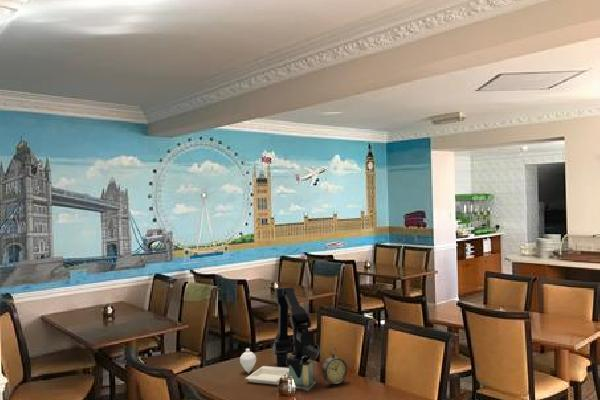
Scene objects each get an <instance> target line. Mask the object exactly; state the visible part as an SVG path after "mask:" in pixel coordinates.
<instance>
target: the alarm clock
mask: <svg viewBox="0 0 600 400" xmlns="http://www.w3.org/2000/svg"><path fill="white" fill-rule="evenodd" d="M332 349H334V350H335V352H334V353H331V351H332ZM336 353H337V349H336V347H335V346H333V347H331V348H330V349H329V354H330V355H331V356H329V357H327V358H326V359H325V360H324V362H323V364H322V367H321V375H322V377H323V379H324V380H325V381H326V382H328V383H327V386H326V388H329V386H330V384H333V385H338V384H341V383H343V384H345V383H346V382H345V381H344V380H345V379H346V377H347V375H348V366H347V363H346V362H345V360H344V359H342V358H340V357H338V356H335V354H336Z"/></svg>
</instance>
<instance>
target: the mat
mask: <svg viewBox="0 0 600 400" xmlns="http://www.w3.org/2000/svg"><path fill="white" fill-rule="evenodd" d="M316 384H317V381H316V380H315V381H314V380H313V383H312V384H311V385H310V386H309V387H306V386H297V385H296V388H295V389H299V390H301V389H302V390H303V391H307V392H308V391H309V390H311V389H312V387H314V385H316Z"/></svg>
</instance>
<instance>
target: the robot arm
mask: <svg viewBox="0 0 600 400" xmlns="http://www.w3.org/2000/svg"><path fill="white" fill-rule="evenodd" d="M273 294H274V299H275V301H276V302H277V304H278V320H277V321H278V327H277V328H278V330H277V334H276V335H275V337H274V342H273V345H272V354H274V355H275V356H276V364H274V365H273V367H281V368H287V367H289V365H291V366H292V368H293V370H294V372H295V374H296V376H297V378H300V376H301V366H302V365H303V364H304V363H302V362H303V361H304V362H307V361H308V362H309V361H310V359H312V360H316V359H317V358H318V357H319V354H320V353H321V349H320V345H319V344H316V343H315V344H314V345H312V343H313V342H314V336H313V334H312V333H311V332H310V331H309V329H311V328H312V322H311V319H310V316H309V314H308V312H307V311H306V310H305V308H304V307H302V306H301V305H300V303H299V301H298V297H297V296H296V294H295V288H294V287H293V286H286V287H277V288H276V289H275V290H274V293H273ZM289 311H290V313H289ZM289 314H290V315H289ZM289 322H290V325H291V328H292V337H293V338H292V339H293V340H292V339H291V337H290V336H289V334H288V332H289V331H288V329H289V327H288V326H289ZM292 341H293V342H292ZM292 349H293V350H292ZM289 354H291V355H290V356H289Z"/></svg>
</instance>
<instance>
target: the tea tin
mask: <svg viewBox="0 0 600 400" xmlns="http://www.w3.org/2000/svg"><path fill="white" fill-rule="evenodd" d="M302 363H304V364H303V365H302V366H301V376H300V378H297V376H296V374H295V372H294V370H293V368H292V366H291V365H288V368H289V376H292V377H293V379H294V382H295V384H296V385H297V386H306V387H309V386H310V385H311V384H312V383H313V381H314V374H313V373H314V372H313V370H314V369H313V361H309V360H308V361H307V362H304V361H303V362H302Z"/></svg>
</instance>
